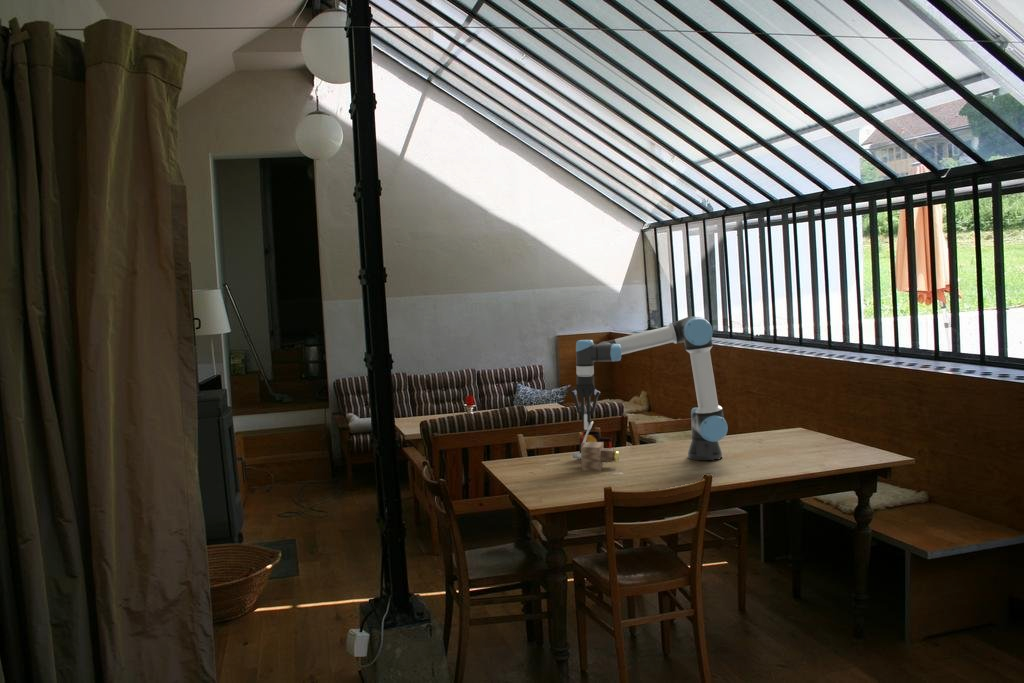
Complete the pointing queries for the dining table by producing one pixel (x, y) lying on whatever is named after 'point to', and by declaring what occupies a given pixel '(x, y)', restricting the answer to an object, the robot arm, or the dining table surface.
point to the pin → (615, 456)
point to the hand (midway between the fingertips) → (586, 429)
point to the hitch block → (595, 455)
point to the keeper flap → (587, 432)
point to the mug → (592, 438)
